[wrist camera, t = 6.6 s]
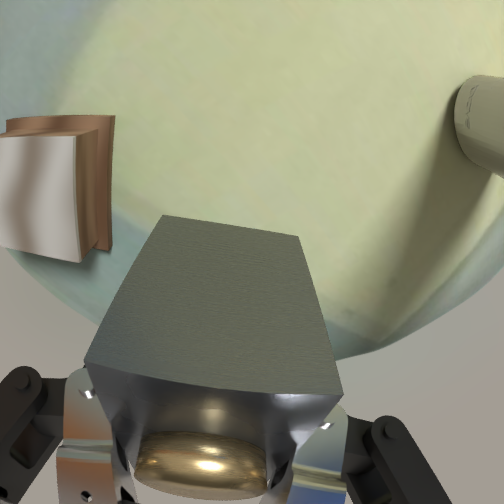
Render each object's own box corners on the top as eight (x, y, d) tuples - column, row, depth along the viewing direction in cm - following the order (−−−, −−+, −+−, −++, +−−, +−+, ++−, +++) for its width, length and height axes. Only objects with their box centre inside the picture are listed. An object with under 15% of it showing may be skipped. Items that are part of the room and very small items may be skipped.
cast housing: (298, 236, 10) (355, 442, 4) (257, 367, 13) (261, 510, 7) (162, 214, 9) (63, 407, 3) (161, 354, 13) (131, 495, 7)
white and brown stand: (115, 115, 20) (86, 122, 15) (112, 245, 26) (91, 275, 21) (12, 118, 18) (-22, 129, 14) (20, 229, 24) (-6, 253, 20)
